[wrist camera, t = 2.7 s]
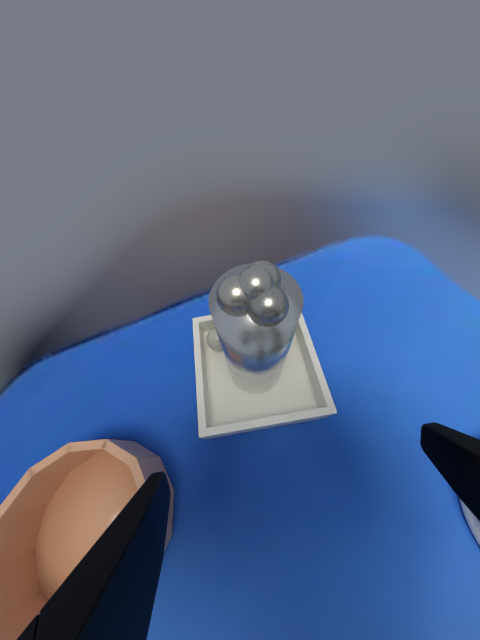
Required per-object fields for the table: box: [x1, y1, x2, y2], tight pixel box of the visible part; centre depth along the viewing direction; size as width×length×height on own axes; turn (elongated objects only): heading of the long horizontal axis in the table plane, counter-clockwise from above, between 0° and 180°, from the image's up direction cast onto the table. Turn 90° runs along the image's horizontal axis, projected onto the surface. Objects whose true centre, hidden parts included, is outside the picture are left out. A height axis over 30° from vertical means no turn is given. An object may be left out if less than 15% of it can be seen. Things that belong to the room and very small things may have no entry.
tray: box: [193, 312, 337, 439], centre depth 22 cm, size 11×11×3 cm
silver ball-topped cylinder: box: [209, 261, 303, 394], centre depth 17 cm, size 5×5×14 cm
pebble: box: [207, 328, 222, 351], centre depth 23 cm, size 2×2×2 cm
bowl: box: [0, 439, 174, 640], centre depth 16 cm, size 11×11×4 cm
